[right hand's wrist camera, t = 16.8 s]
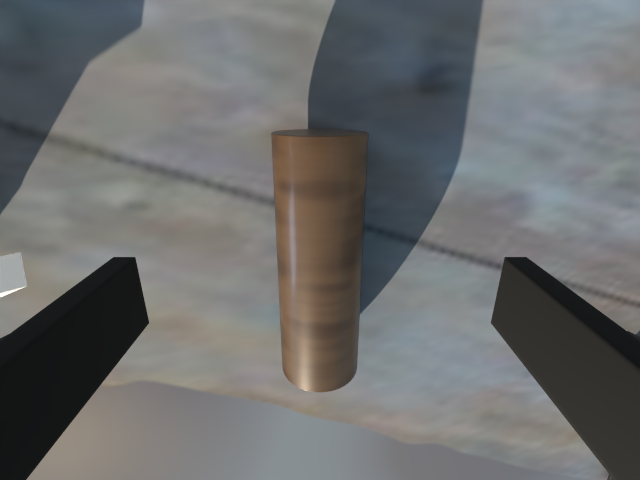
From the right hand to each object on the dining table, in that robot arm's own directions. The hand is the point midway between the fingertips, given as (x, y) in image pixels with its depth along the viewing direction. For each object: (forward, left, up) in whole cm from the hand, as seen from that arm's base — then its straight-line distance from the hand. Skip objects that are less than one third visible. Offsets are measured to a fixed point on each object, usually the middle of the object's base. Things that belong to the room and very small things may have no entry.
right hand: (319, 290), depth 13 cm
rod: (+9, -2, -27) cm, 29 cm away
